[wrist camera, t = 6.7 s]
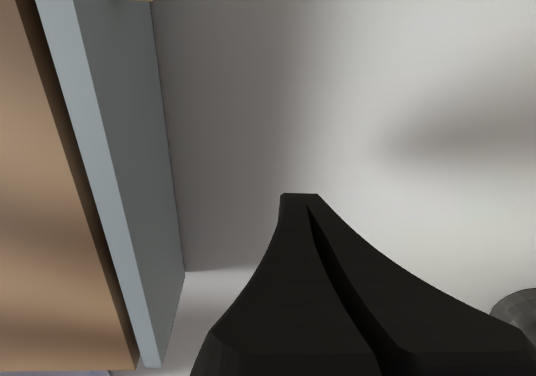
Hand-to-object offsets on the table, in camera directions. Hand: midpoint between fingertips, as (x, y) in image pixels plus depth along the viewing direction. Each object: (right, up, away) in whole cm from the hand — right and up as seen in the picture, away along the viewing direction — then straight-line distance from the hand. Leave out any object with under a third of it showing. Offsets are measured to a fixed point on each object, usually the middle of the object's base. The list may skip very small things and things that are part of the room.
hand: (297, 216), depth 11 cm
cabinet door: (-6, +3, +3) cm, 7 cm away
